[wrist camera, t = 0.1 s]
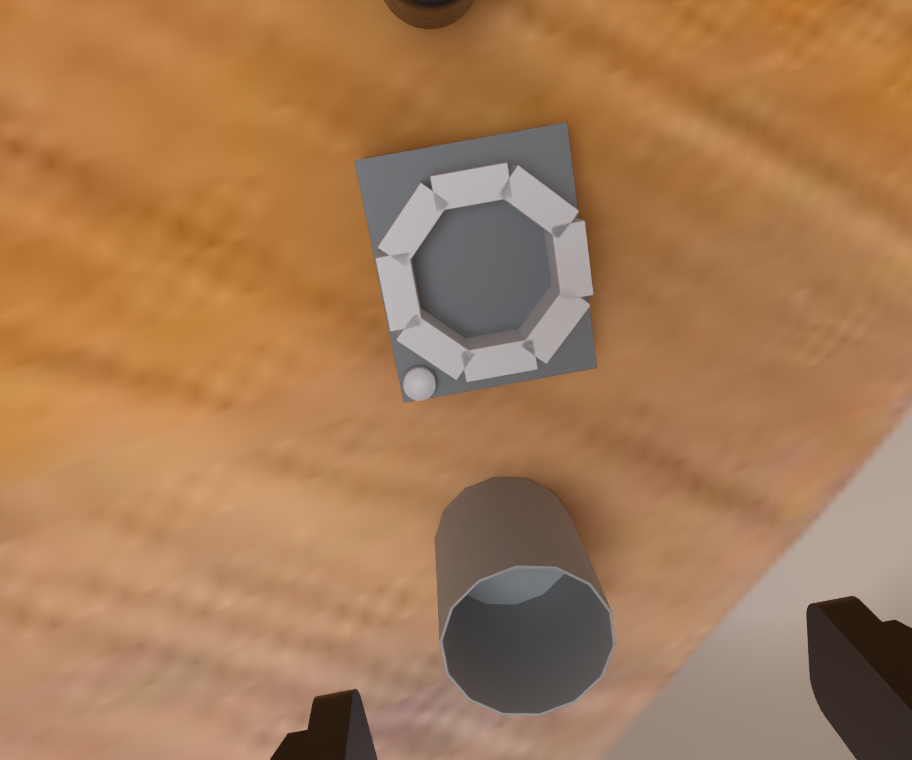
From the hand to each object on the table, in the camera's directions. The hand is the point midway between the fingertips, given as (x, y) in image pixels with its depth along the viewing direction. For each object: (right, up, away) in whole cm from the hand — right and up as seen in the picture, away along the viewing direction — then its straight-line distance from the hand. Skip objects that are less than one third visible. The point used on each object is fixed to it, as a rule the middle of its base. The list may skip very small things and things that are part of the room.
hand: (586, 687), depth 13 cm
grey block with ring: (-1, +12, +27) cm, 29 cm away
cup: (+1, -4, +32) cm, 32 cm away
